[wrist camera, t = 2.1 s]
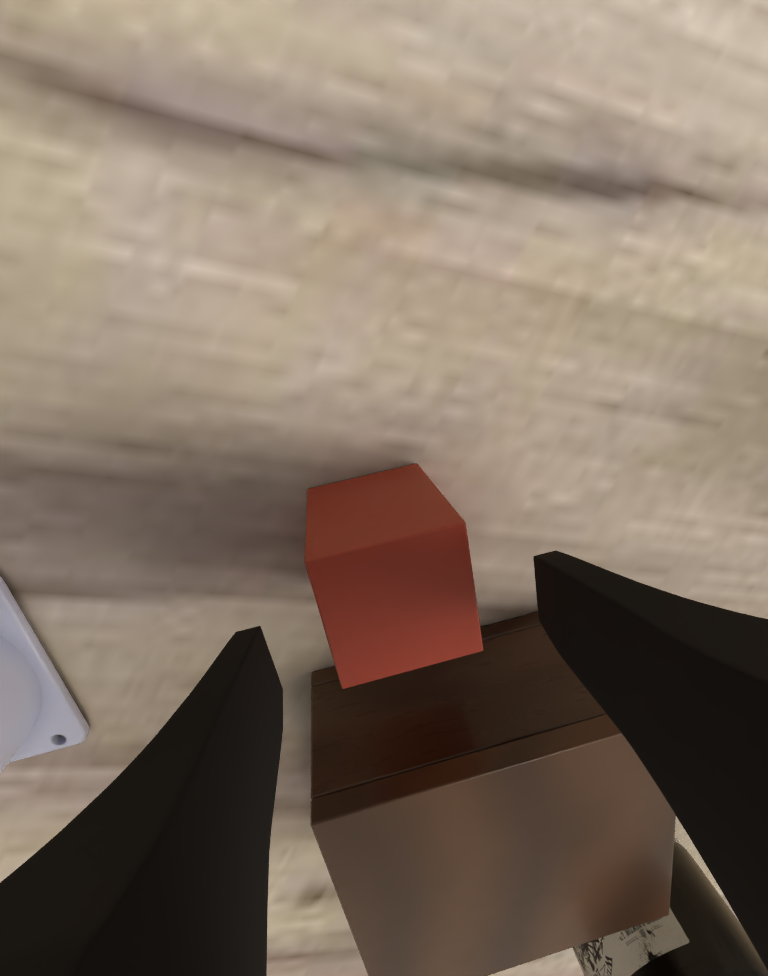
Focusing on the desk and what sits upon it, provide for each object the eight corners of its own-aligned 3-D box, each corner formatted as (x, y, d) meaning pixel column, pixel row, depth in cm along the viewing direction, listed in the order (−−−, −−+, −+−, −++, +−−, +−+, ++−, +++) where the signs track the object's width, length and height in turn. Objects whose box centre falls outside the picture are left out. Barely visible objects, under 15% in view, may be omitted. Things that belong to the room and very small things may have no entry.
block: (333, 584, 18) (342, 690, 12) (307, 488, 16) (304, 561, 11) (433, 559, 18) (484, 651, 13) (417, 462, 16) (466, 522, 11)
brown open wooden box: (363, 835, 23) (381, 1011, 17) (311, 671, 19) (310, 825, 13) (580, 770, 24) (670, 915, 18) (572, 601, 20) (683, 715, 14)
